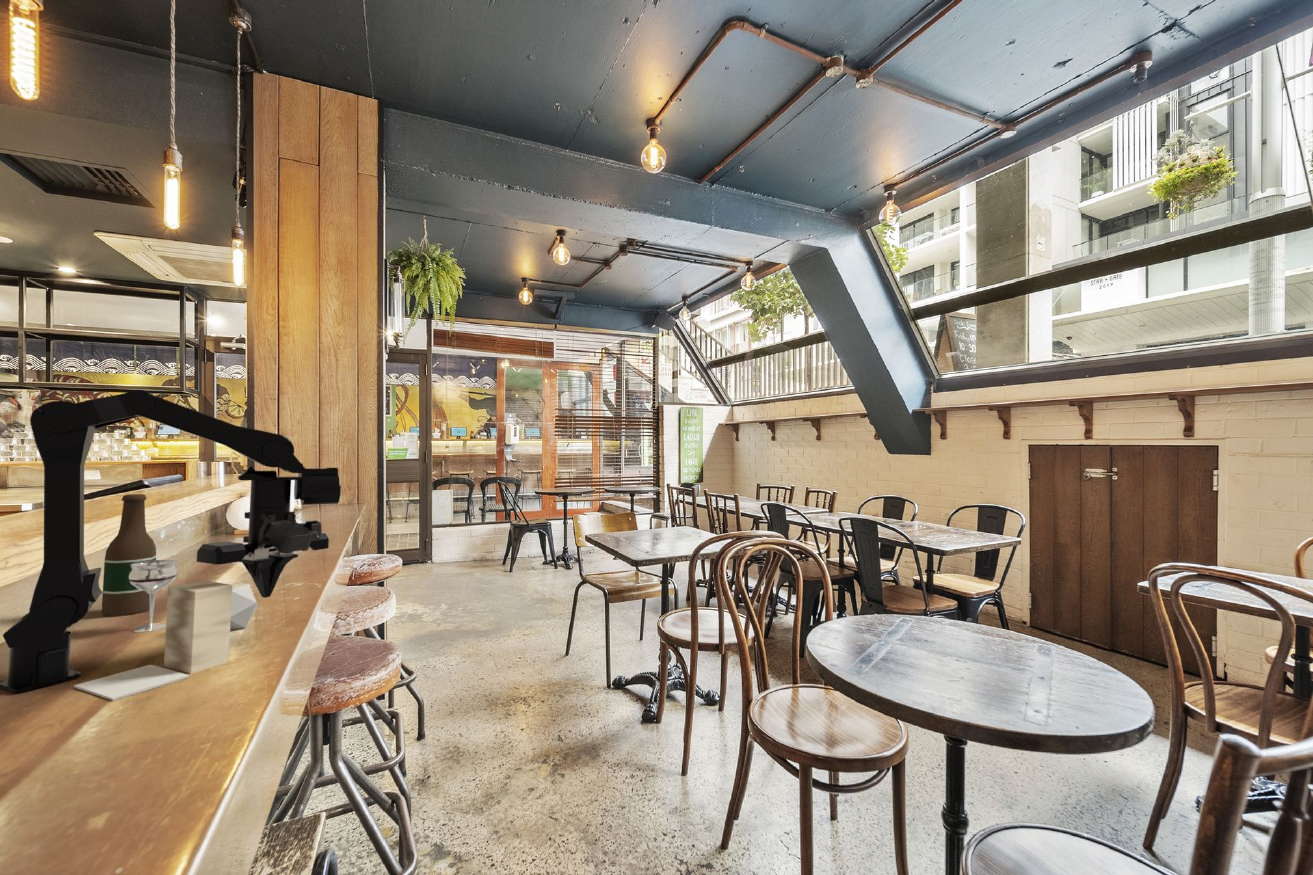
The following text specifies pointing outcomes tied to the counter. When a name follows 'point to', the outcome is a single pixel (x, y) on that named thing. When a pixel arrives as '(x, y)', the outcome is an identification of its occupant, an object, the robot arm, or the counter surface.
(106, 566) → the beer bottle
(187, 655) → the birch block
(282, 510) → the robot arm
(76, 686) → the mat
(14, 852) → the counter surface
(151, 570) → the wineglass
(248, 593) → the die
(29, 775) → the counter surface
